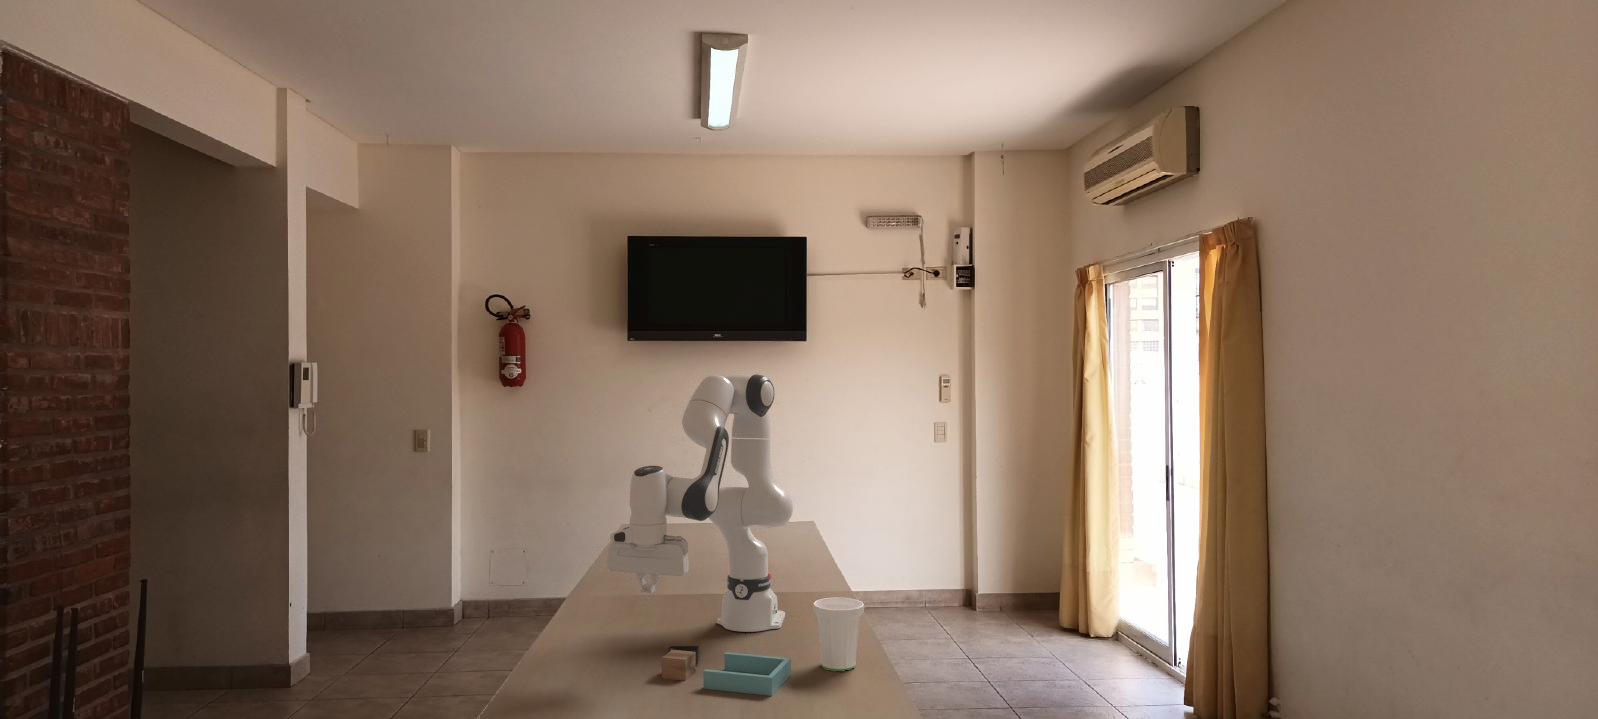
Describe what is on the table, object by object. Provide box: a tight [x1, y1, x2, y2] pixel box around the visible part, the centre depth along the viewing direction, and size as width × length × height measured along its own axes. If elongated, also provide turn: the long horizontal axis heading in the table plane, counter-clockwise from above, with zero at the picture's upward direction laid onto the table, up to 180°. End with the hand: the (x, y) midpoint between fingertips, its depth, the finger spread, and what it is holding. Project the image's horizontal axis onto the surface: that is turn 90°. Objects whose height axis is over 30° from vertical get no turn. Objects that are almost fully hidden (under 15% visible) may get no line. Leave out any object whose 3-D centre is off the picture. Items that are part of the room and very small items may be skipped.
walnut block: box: [661, 650, 697, 681], centre depth 218 cm, size 6×6×5 cm
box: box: [702, 651, 792, 697], centre depth 214 cm, size 14×16×4 cm
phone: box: [667, 645, 701, 668], centre depth 231 cm, size 8×1×15 cm
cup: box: [812, 596, 865, 672], centre depth 225 cm, size 12×12×15 cm
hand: (647, 591), depth 221 cm, fingers closed
